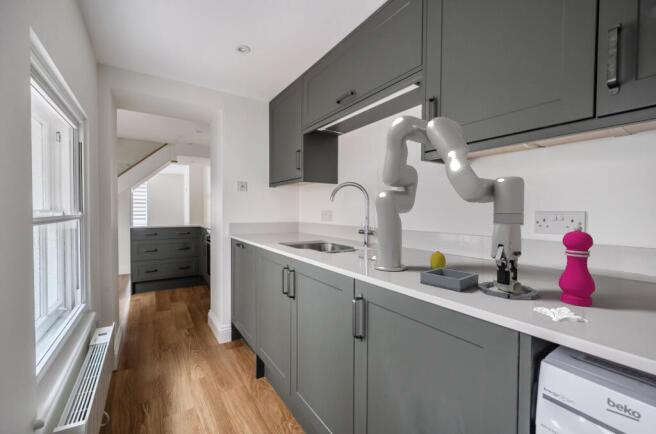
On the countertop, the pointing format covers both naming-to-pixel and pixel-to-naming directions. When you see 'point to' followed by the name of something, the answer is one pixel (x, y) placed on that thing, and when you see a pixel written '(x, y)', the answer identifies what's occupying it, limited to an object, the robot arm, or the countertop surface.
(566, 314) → the acanthus leaf ornament
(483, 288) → the segmented octagonal ring
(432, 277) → the bin
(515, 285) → the valve
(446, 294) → the countertop surface
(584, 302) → the pepper mill
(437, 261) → the lemon
